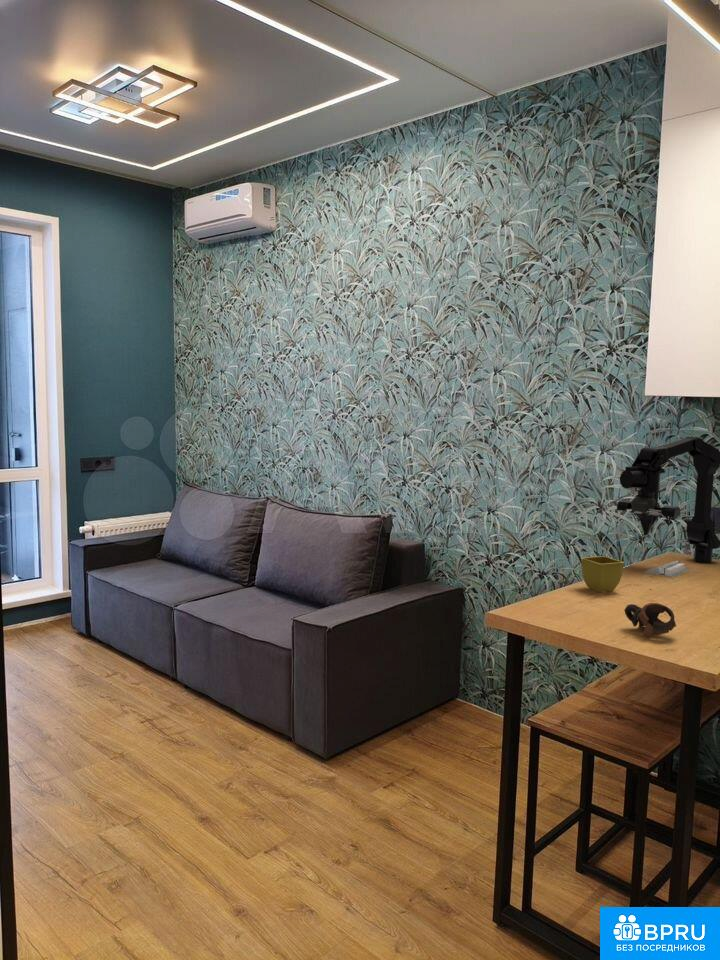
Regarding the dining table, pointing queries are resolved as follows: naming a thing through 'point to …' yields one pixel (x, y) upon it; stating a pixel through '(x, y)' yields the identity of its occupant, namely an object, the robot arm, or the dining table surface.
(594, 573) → the flower pot
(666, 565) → the tong arm
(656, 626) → the dark brown openwork sculpture
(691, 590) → the dining table surface
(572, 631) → the dining table surface
